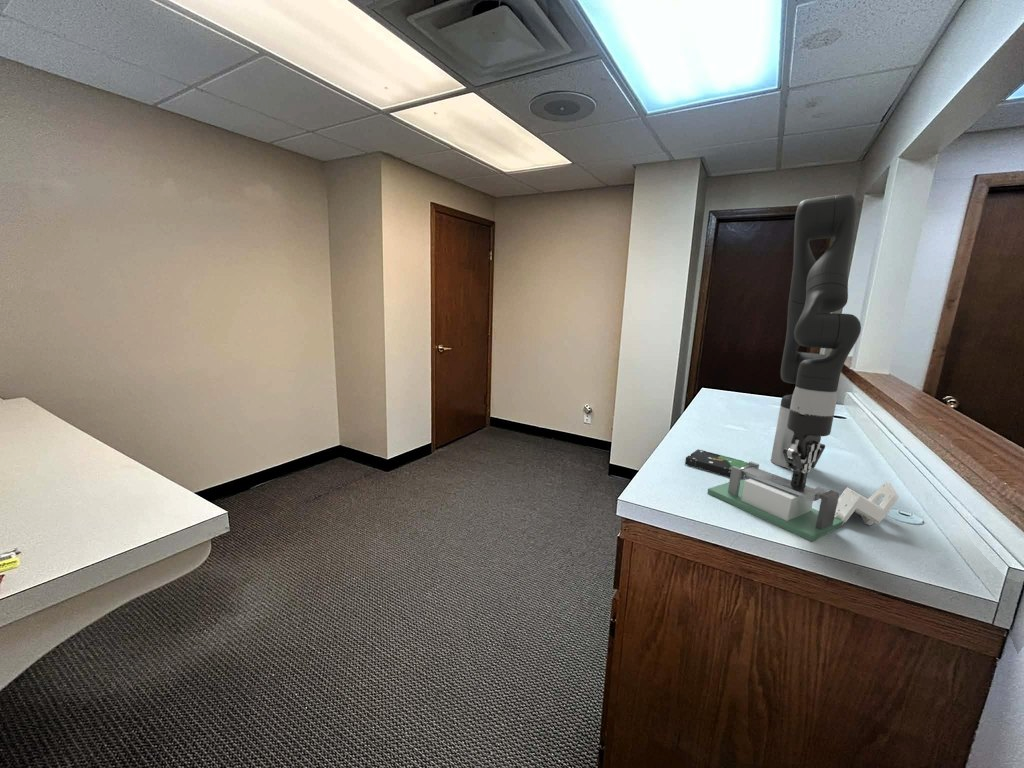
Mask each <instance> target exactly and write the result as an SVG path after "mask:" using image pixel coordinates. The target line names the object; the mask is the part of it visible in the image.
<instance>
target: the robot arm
mask: <svg viewBox="0 0 1024 768" xmlns="http://www.w3.org/2000/svg"><path fill="white" fill-rule="evenodd" d="M856 216H857V203H856V199H855V197H854V196H853V194H849V193H843V194H836V195H835V194H834V195H833V194H832V195H826V196H820V197H813V198H808V199H803V200H802V201H800V202H799V204H798V205H797V208H796V211H795V217H794V229H793V230H794V231H793V232H794V233H793V261H792V262H793V265H792V273H791V274H792V275H791V282H790V289H789V295H788V303H787V304H788V305H787V322H786V333H785V342H784V347H783V354H782V358H781V364H780V366H781V367H780V379H781V380H782V381H783V382H784V383H787V384H793V385H795V388H794V390H793V392H792V394H786V395H783V396H782V397H781V400H780V406H779V410H778V411H779V412H778V415H777V416H778V417H777V423H776V429H775V435H774V440H773V446H772V451H771V455H770V456H771V457H770V461H771V462H772V463H773V464H775V465H777V466H779V467H782V468H786V469H788V470H789V469H790V470H791V471H792V476H791V479H790V480H791V486H792V487H794V488H797V489H803V488H805V486H807V479H808V474H809V473H811V470H812V469H814V468H815V467H816V465H817V463H818V462H819V459H820V458H821V456H822V454H823V452H824V450H825V448H826V445H825V444H824V443H821V440H822V437H828V436H830V435H831V432H832V427H833V423H834V422H833V421H834V417H835V412H836V408H837V407H836V406H837V394H838V392H837V391H838V388H839V382H840V378H841V374H842V370H843V367H844V365H845V362H846V361H847V358H848V356H849V355H850V352H851V351H852V350H853V348H854V346H855V344H856V343H857V341H858V339H859V337H860V335H861V331H862V325H861V322H860V319H859V318H858V317H857V316H856V315H854V314H850V313H836V312H838V311H839V310H840V311H841V310H842V309H843V308H844V307H845V306H846V305H847V303H848V299H849V288H848V287H849V279H848V278H849V277H848V276H849V275H848V273H849V264H850V256H851V252H852V247H853V240H854V234H855V225H856V218H857V217H856ZM833 238H834V241H833V242H832V243H831V245H830V246H829V247H828V248H827V250H826V251H825V252H824V253H823V254H822V255H821V256H820V257H819V258H818V259H817V260H816V258H815V256H814V254H813V252H812V249H811V246H810V241H813V240H823V239H833ZM801 346H802V347H804V348H816V349H818V348H819V349H827V350H828V349H829V350H830V352H829V353H828V354H827V355H826V354H821V353H815V352H814V353H813V352H802V351H798V350H799V348H800V347H801Z"/></svg>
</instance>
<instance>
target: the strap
mask: <svg viewBox="0 0 1024 768" xmlns="http://www.w3.org/2000/svg"><path fill="white" fill-rule="evenodd" d="M741 469H742V474H743V475H745V477H746V476H748V477H751V478H754V479H756V480H759V481H762V482H764V483H767V484H769V485H772V486H775V487H777V488H780V489H783V490H785V491H788V492H790V493H793V494H796V495H798V496H801V497H804V498H806V499H809V500H811V501H813V502H816V501H819V500H821V499H820V498H819V495H820V494H822V493H825V492H827V491H828V489H826V488H824V487H822V486H821V487H820V486H817V487H811V486H808V485H806V486H805V488H803V489H797V488H794V487H792V486H791V480H792V479H789V478H786V477H782V476H779V475H777V474H774V473H772V472H769V471H766V470H763V469H760V468H759V469H758V468H755V467H753V466H752V465H749V466H746V467H742V468H741Z"/></svg>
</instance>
